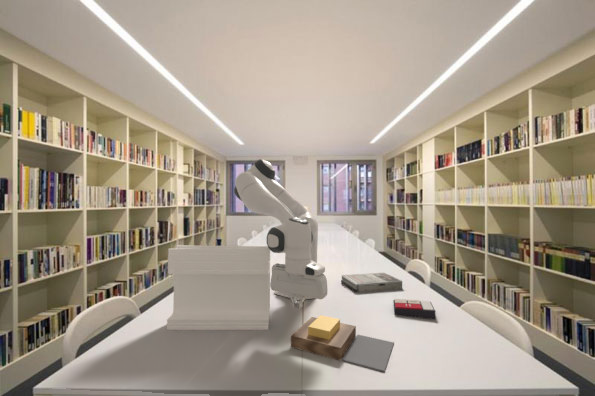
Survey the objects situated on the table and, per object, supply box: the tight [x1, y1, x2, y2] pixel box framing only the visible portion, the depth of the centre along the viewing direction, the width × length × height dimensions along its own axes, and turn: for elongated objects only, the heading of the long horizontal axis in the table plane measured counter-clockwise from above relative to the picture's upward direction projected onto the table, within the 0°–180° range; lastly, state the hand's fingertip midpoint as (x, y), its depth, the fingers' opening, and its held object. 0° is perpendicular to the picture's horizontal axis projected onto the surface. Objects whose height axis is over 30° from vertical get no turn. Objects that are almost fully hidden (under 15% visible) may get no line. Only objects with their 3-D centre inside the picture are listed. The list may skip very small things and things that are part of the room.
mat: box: [341, 334, 394, 373], centre depth 85 cm, size 12×17×1 cm
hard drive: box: [340, 272, 403, 293], centre depth 153 cm, size 18×27×4 cm
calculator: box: [392, 298, 437, 321], centre depth 116 cm, size 11×4×15 cm
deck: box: [290, 316, 357, 361], centre depth 91 cm, size 16×16×4 cm
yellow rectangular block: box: [308, 314, 341, 340], centre depth 91 cm, size 7×10×2 cm
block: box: [166, 244, 271, 331], centre depth 102 cm, size 35×8×28 cm, turn 91°
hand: (297, 307), depth 95 cm, fingers closed
